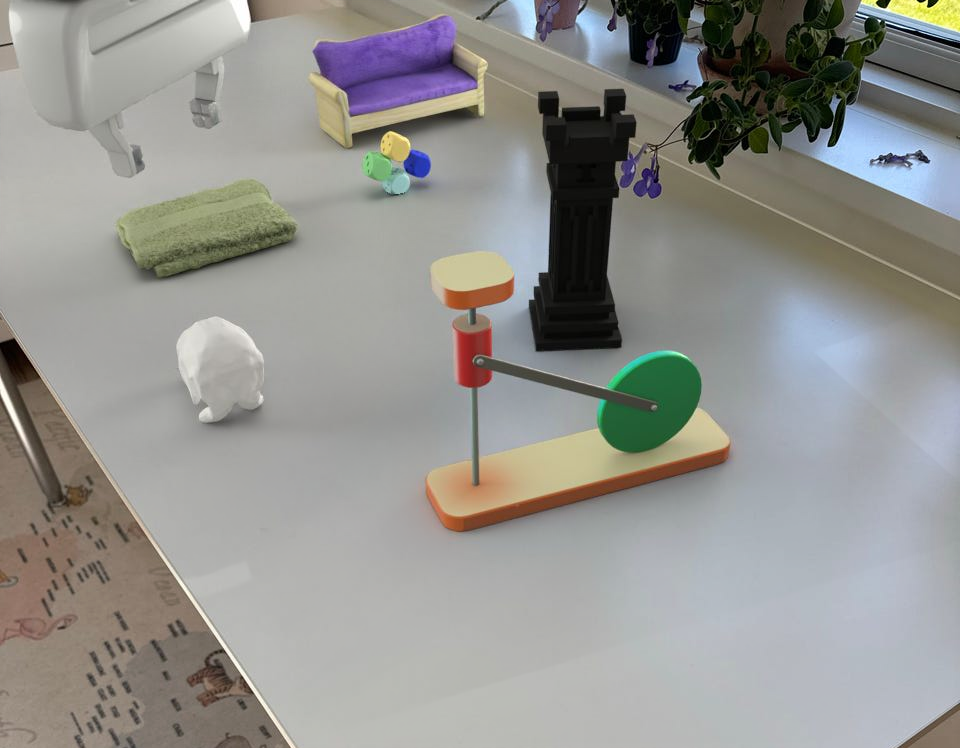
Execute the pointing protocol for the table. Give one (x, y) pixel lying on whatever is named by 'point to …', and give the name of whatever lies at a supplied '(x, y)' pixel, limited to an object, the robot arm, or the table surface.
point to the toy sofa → (395, 78)
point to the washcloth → (204, 227)
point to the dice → (398, 151)
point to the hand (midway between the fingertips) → (171, 148)
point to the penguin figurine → (220, 367)
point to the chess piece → (580, 223)
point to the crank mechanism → (574, 458)
